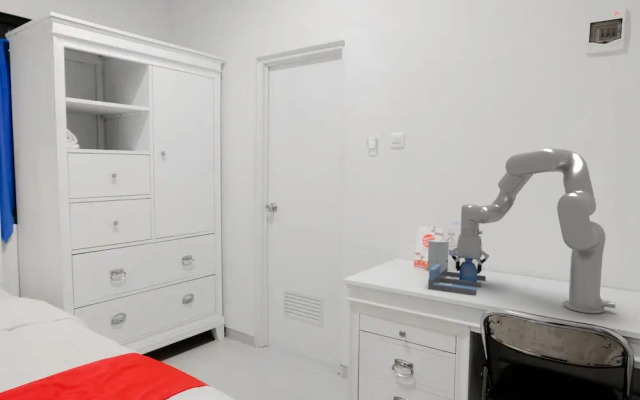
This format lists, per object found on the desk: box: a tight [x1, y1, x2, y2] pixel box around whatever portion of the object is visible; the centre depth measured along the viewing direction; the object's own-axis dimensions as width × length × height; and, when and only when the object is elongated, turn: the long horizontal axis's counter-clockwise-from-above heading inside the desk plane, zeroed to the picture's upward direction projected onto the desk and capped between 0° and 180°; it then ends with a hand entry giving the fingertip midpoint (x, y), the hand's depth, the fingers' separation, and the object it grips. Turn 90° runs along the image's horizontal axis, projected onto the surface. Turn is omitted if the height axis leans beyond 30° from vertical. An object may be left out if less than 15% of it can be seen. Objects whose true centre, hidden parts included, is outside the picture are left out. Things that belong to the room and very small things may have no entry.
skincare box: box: [427, 239, 449, 271], centre depth 211 cm, size 8×6×15 cm
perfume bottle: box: [458, 258, 478, 282], centre depth 190 cm, size 6×6×12 cm
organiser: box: [427, 264, 487, 296], centre depth 186 cm, size 19×27×8 cm
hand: (468, 271), depth 190 cm, fingers closed on perfume bottle, 8 cm apart
